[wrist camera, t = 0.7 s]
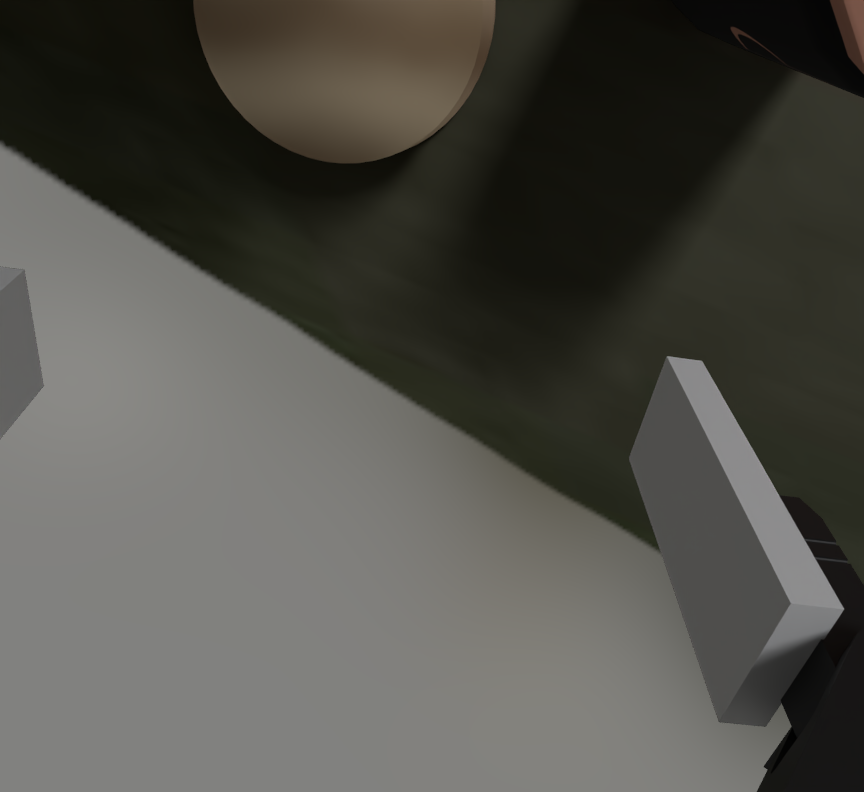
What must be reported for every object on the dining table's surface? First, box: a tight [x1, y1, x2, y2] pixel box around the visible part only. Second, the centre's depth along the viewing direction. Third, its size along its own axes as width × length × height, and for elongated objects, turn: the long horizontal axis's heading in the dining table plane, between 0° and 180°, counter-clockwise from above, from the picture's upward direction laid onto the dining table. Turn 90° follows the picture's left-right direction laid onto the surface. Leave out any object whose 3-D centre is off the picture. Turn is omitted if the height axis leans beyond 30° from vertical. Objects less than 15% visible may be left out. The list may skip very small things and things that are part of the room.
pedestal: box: [193, 0, 495, 163], centre depth 32 cm, size 13×13×4 cm
